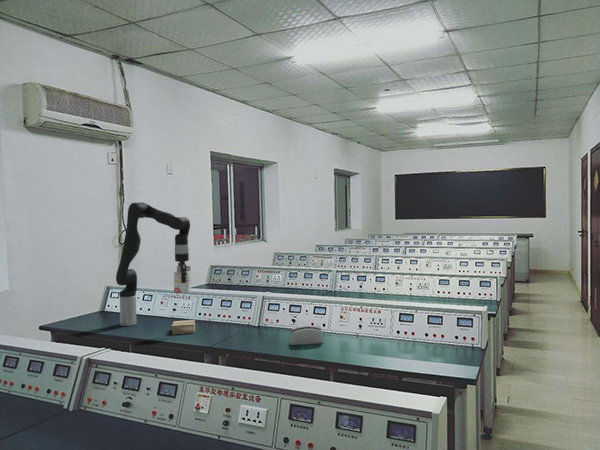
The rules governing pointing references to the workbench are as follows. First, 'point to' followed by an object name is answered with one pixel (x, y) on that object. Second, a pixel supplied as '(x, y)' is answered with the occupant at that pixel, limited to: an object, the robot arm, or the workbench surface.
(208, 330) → the workbench surface
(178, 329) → the birch block
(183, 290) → the ink cartridge box
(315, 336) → the grey arched block
